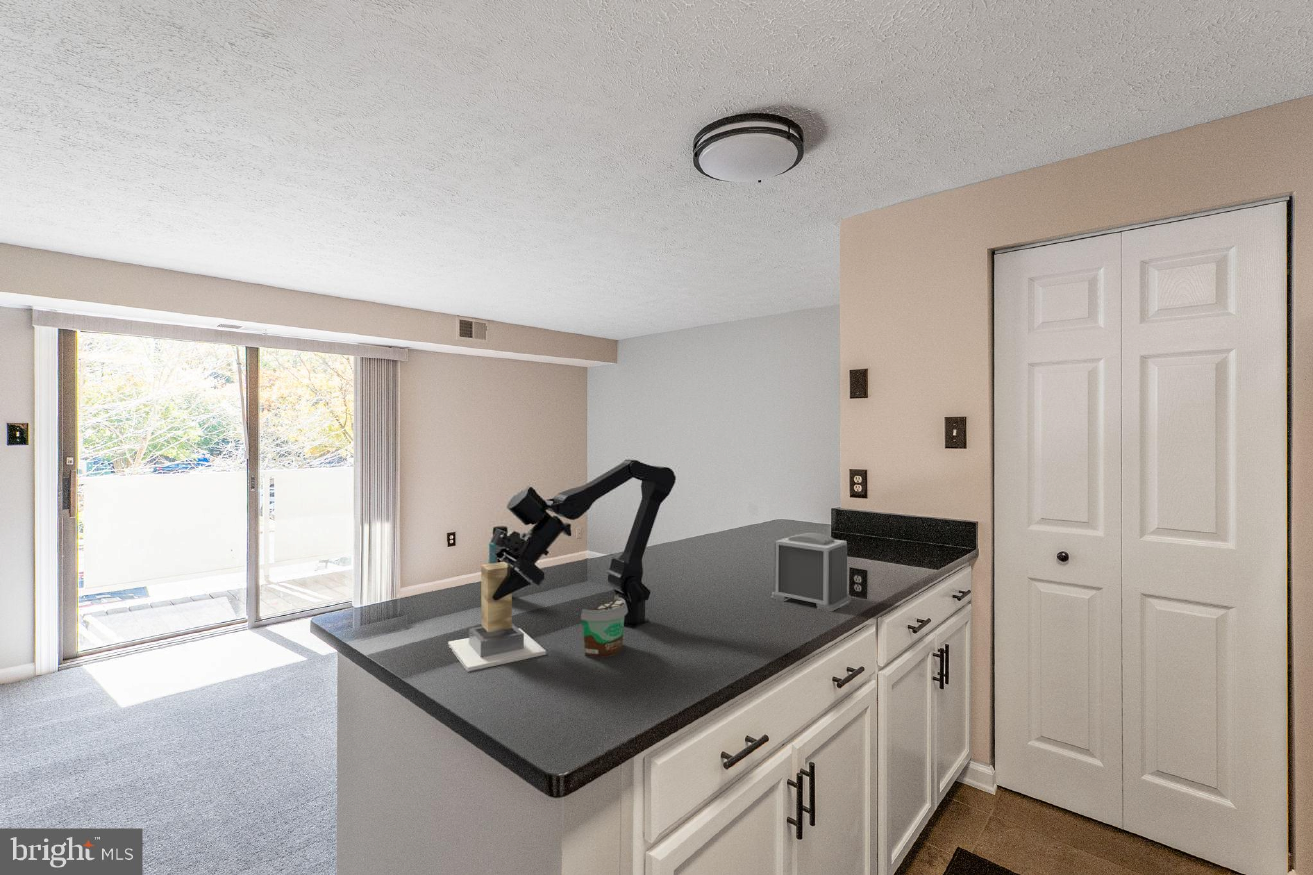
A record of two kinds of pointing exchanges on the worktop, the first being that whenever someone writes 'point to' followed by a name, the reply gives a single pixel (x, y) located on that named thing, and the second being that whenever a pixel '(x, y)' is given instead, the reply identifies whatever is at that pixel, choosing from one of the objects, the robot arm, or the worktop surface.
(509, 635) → the metal collar
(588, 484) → the robot arm
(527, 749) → the worktop surface
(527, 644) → the base plate
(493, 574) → the pine post
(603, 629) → the food container
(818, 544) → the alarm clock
